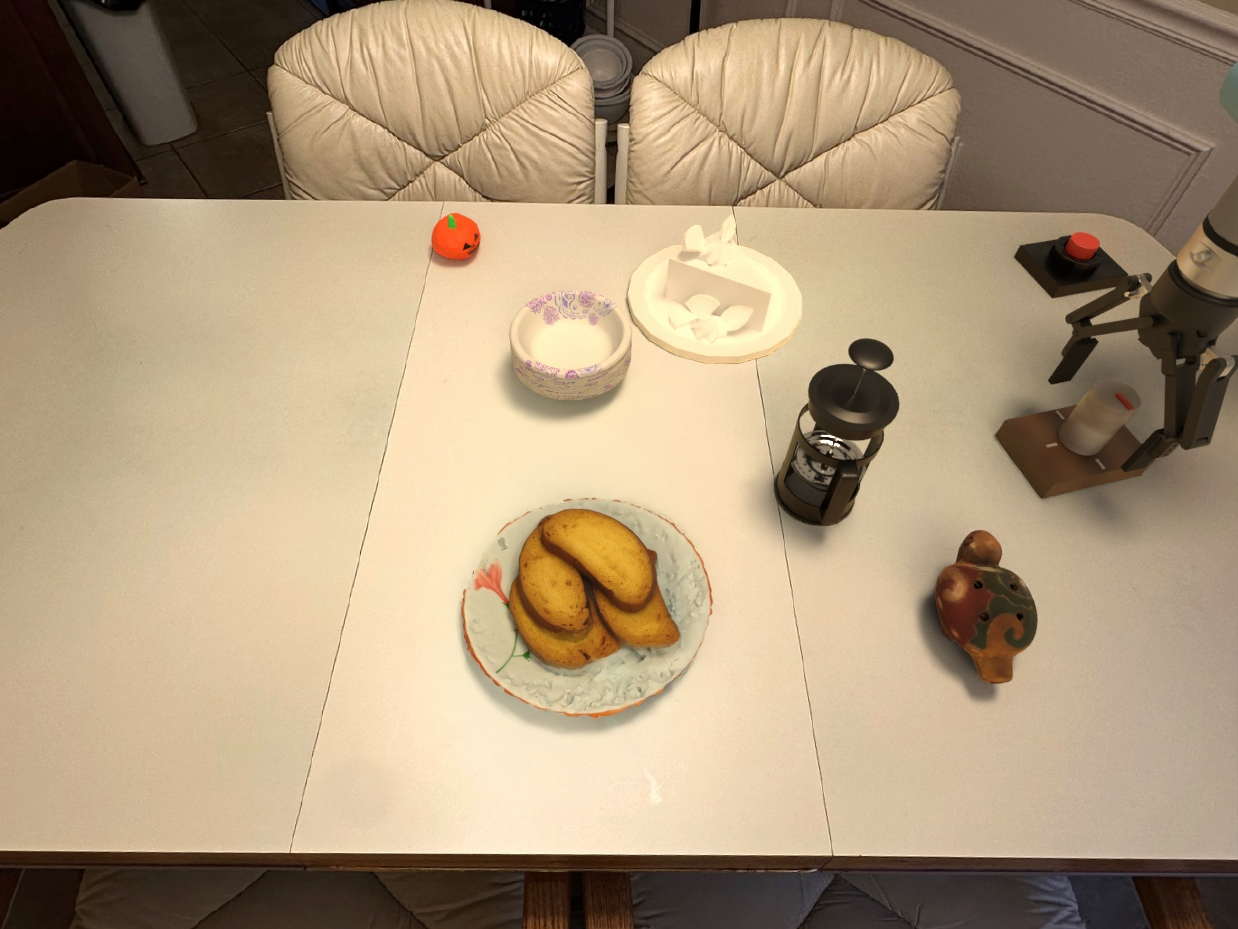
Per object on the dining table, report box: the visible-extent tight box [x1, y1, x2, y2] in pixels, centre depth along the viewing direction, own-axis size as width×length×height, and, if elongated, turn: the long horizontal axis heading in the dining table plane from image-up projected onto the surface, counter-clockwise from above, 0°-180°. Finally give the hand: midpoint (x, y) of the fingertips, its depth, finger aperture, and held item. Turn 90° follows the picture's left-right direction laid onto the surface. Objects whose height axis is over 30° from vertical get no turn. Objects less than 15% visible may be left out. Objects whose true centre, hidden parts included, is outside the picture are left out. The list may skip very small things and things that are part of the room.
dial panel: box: [994, 403, 1157, 499], centre depth 90 cm, size 14×10×3 cm
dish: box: [627, 213, 803, 364], centre depth 102 cm, size 25×25×11 cm
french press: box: [773, 337, 901, 527], centre depth 78 cm, size 12×9×23 cm
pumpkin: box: [430, 212, 482, 260], centre depth 110 cm, size 7×8×6 cm
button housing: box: [1013, 234, 1130, 299], centre depth 112 cm, size 12×10×4 cm
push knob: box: [1065, 231, 1101, 260], centre depth 110 cm, size 4×4×2 cm
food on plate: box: [461, 497, 714, 720], centre depth 75 cm, size 25×25×7 cm
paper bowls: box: [508, 289, 633, 401], centre depth 95 cm, size 15×15×8 cm
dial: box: [1058, 377, 1141, 456], centre depth 86 cm, size 5×5×8 cm
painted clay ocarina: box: [934, 529, 1039, 685], centre depth 75 cm, size 10×15×8 cm, turn 1°
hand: (1093, 422), depth 87 cm, fingers open, 13 cm apart
